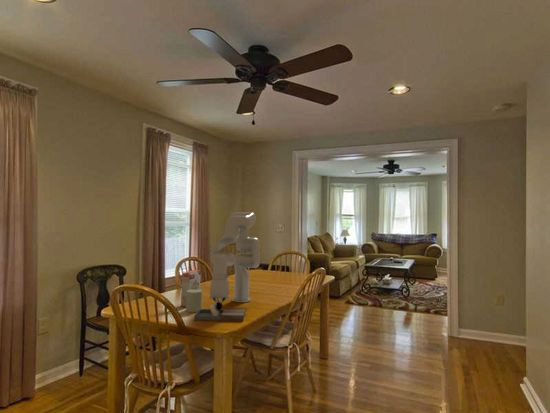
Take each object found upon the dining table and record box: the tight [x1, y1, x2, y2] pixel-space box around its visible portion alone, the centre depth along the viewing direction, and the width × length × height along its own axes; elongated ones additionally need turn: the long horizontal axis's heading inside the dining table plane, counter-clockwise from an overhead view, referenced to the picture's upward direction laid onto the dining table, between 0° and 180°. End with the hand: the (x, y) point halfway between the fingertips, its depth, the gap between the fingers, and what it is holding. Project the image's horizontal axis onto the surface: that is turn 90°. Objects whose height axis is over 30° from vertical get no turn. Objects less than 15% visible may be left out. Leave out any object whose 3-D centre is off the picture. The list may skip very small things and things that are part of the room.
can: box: [185, 288, 203, 313], centre depth 205 cm, size 9×9×12 cm
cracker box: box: [180, 269, 202, 308], centre depth 218 cm, size 14×6×21 cm, turn 163°
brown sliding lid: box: [220, 307, 246, 322], centre depth 191 cm, size 14×12×3 cm
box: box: [193, 308, 225, 322], centre depth 191 cm, size 14×14×2 cm
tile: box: [209, 302, 219, 316], centre depth 191 cm, size 6×6×2 cm
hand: (219, 309), depth 191 cm, fingers closed
